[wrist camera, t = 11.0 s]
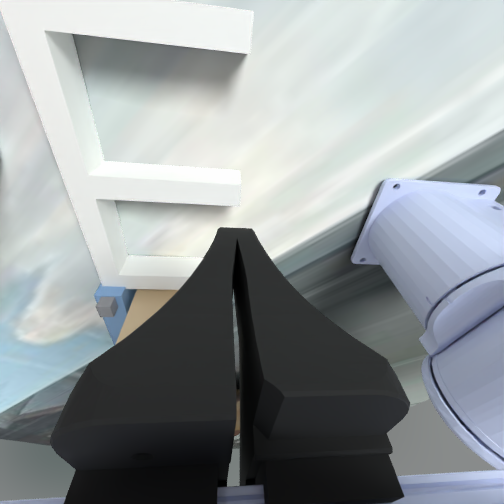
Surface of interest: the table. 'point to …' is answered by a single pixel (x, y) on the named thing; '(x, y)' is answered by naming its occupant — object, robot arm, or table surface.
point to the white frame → (86, 137)
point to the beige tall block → (143, 308)
